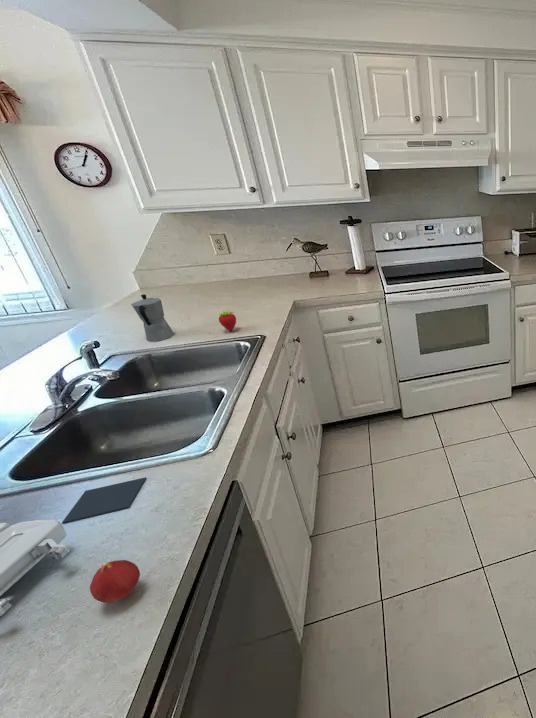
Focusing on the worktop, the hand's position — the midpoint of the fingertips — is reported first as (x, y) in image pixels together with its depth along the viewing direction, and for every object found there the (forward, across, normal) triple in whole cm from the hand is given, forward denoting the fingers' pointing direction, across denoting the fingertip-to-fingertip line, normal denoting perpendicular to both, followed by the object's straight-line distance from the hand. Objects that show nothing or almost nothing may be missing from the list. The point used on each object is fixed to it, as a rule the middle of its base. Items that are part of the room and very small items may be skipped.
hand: (36, 577), depth 66 cm
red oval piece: (+12, 0, +5) cm, 13 cm away
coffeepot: (-61, +107, +5) cm, 123 cm away
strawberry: (-35, +112, +5) cm, 117 cm away
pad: (-9, +21, +5) cm, 24 cm away
